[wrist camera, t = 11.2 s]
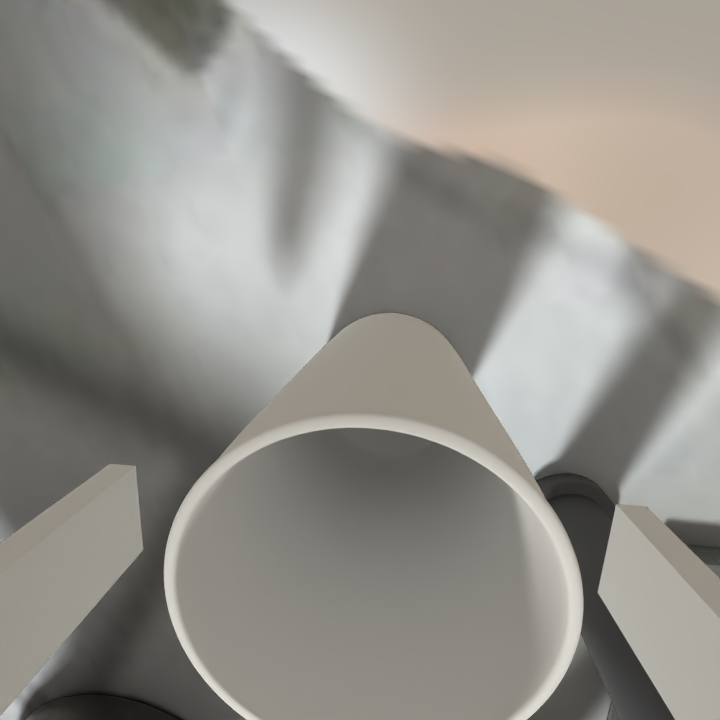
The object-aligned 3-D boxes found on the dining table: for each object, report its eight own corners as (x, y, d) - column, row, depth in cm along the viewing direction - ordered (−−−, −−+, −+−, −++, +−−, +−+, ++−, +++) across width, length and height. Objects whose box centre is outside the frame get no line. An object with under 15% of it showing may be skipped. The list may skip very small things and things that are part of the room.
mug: (347, 279, 17) (234, 336, 6) (497, 344, 17) (680, 529, 6) (268, 476, 20) (83, 783, 9) (397, 532, 20) (388, 912, 9)
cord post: (510, 547, 20) (692, 1044, 7) (522, 469, 19) (755, 894, 6) (600, 556, 19) (948, 1093, 7) (617, 477, 18) (1060, 943, 6)
